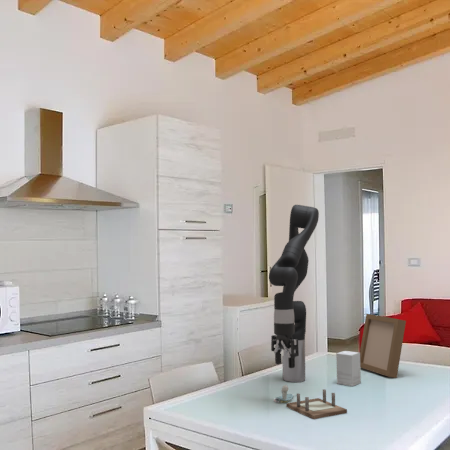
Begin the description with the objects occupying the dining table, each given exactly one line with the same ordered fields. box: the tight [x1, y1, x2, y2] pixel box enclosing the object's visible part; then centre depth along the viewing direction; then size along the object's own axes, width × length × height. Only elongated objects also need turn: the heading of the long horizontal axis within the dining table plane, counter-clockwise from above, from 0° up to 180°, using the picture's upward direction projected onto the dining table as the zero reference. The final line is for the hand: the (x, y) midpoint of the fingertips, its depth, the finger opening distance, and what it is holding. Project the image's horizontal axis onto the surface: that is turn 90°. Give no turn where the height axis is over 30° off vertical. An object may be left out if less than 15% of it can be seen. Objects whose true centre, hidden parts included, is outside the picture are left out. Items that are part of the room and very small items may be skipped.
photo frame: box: [359, 313, 407, 379], centre depth 247 cm, size 15×22×25 cm
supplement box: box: [335, 350, 362, 387], centre depth 227 cm, size 7×7×13 cm
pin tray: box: [285, 389, 348, 420], centre depth 191 cm, size 16×14×6 cm
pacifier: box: [273, 384, 294, 404], centre depth 202 cm, size 7×6×6 cm
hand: (284, 365), depth 201 cm, fingers open, 8 cm apart
